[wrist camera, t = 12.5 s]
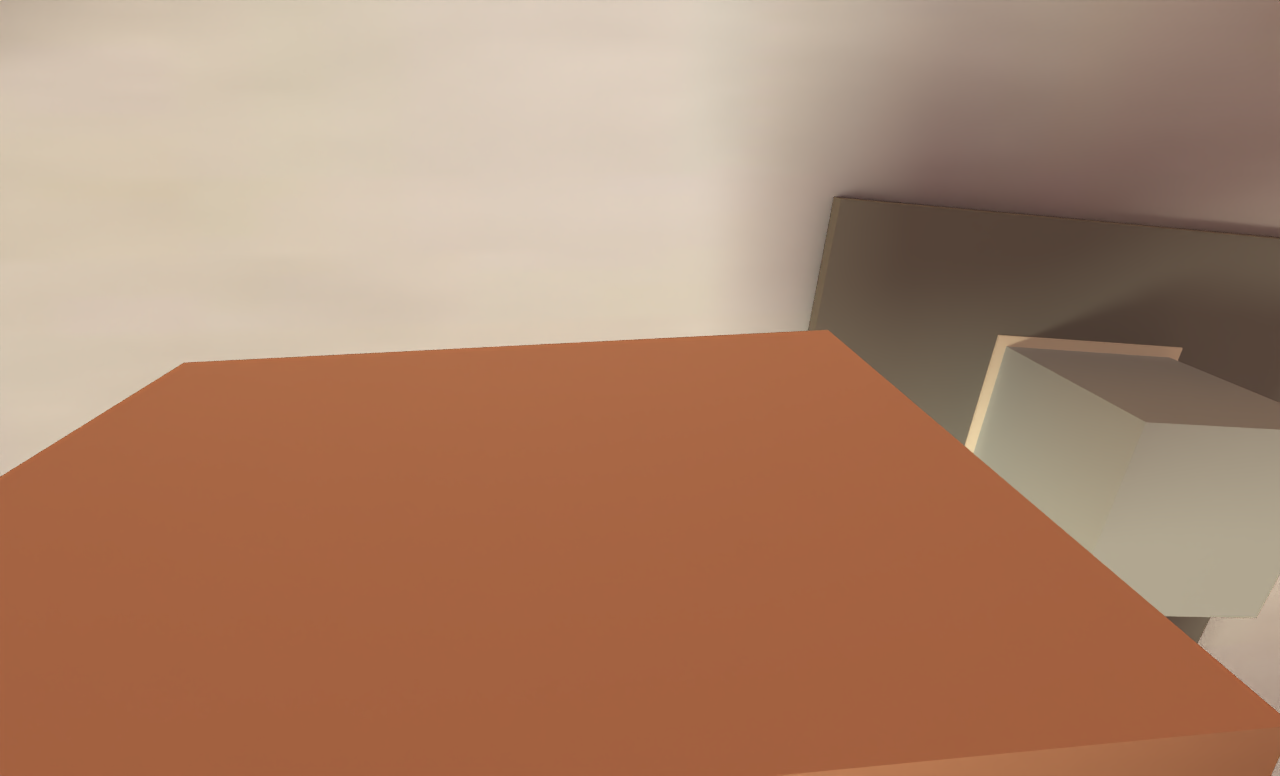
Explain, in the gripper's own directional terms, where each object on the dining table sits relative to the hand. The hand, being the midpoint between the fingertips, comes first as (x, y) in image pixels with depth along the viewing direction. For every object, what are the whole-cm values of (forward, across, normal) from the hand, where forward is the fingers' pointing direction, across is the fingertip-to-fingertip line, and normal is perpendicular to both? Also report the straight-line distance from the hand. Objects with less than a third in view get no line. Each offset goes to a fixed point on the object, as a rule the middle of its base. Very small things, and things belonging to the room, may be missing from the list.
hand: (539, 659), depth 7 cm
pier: (+11, -15, +2) cm, 19 cm away
